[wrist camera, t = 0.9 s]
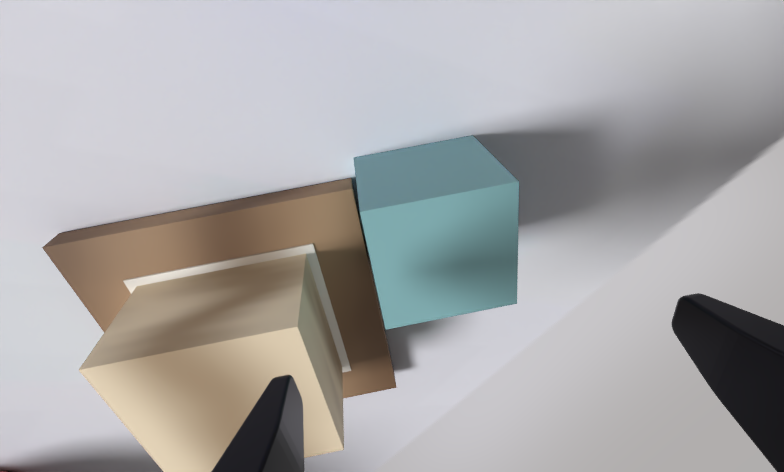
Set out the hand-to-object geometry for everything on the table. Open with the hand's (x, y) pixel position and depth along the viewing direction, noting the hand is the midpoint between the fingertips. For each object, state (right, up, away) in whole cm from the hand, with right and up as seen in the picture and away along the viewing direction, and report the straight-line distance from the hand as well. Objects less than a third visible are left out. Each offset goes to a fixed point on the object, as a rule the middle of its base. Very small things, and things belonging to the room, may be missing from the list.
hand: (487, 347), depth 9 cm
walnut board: (-8, -1, +9) cm, 12 cm away
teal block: (-1, +4, +7) cm, 8 cm away
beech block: (-8, -2, +8) cm, 11 cm away
